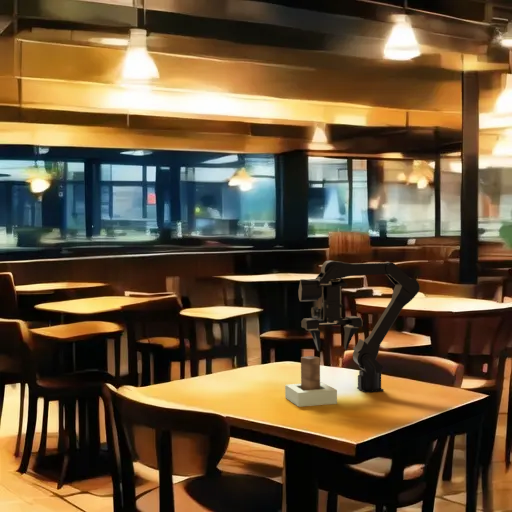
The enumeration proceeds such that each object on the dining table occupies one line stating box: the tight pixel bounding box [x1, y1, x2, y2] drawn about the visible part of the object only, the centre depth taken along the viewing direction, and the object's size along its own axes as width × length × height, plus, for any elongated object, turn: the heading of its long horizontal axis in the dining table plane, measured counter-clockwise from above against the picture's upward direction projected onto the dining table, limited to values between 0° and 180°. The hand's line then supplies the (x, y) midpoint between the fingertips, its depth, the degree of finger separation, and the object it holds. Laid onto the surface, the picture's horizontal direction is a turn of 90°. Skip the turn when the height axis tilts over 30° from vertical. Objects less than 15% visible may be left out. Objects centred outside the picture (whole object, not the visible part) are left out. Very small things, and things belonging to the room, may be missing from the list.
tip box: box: [284, 381, 338, 408], centre depth 221 cm, size 12×12×4 cm
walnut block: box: [300, 355, 321, 391], centre depth 220 cm, size 4×4×12 cm
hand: (332, 349), depth 233 cm, fingers open, 9 cm apart
